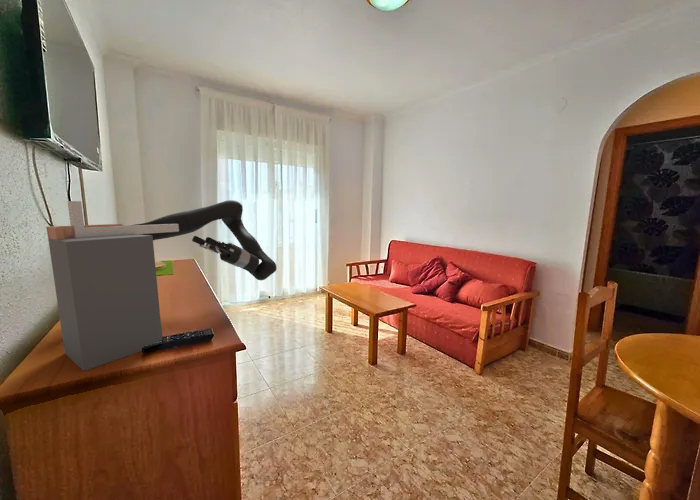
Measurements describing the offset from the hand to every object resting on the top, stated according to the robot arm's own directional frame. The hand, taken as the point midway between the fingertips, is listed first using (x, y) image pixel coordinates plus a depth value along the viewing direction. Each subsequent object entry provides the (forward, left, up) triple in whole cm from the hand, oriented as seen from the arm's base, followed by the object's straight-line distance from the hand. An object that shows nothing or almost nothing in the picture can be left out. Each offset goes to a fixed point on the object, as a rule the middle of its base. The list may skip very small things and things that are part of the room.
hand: (199, 238), depth 106 cm
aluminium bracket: (0, -21, +3) cm, 21 cm away
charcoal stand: (+4, -29, -29) cm, 41 cm away
